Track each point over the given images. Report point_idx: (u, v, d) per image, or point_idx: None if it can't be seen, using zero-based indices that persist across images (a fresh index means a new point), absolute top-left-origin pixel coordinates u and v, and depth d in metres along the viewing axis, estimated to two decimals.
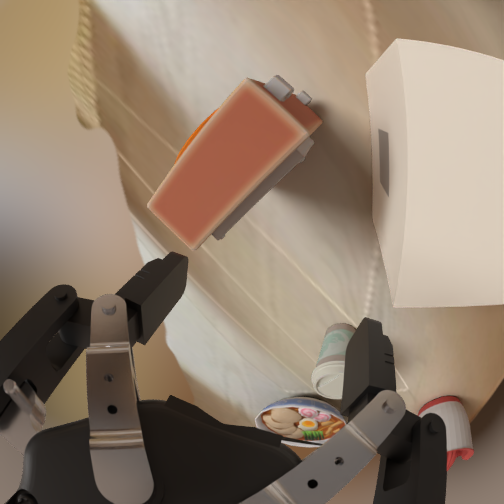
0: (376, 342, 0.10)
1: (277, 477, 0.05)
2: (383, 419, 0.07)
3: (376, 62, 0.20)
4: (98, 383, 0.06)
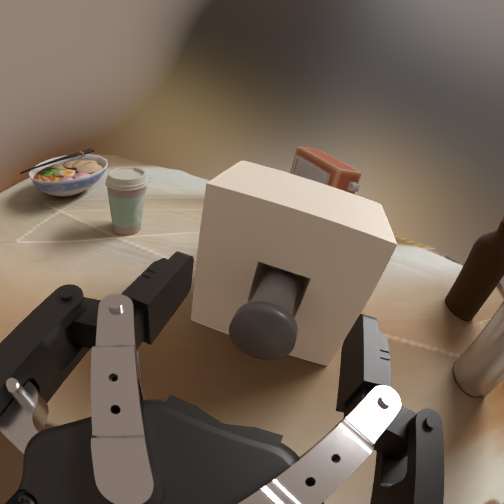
0: (372, 338, 0.10)
1: (274, 476, 0.05)
2: (378, 414, 0.07)
3: None
4: (102, 383, 0.06)
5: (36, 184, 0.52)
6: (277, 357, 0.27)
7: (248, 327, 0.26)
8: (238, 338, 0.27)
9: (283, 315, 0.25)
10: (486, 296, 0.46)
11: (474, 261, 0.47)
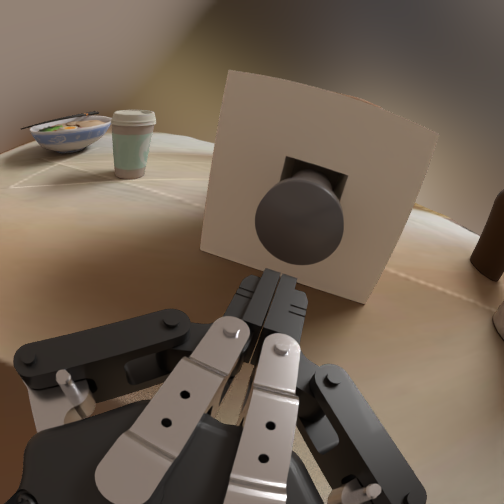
0: (285, 293, 0.11)
1: (228, 468, 0.05)
2: (269, 358, 0.08)
3: None
4: (171, 394, 0.06)
5: (36, 137, 0.46)
6: (318, 259, 0.21)
7: (282, 209, 0.20)
8: (267, 231, 0.21)
9: (327, 190, 0.19)
10: None
11: (498, 214, 0.41)
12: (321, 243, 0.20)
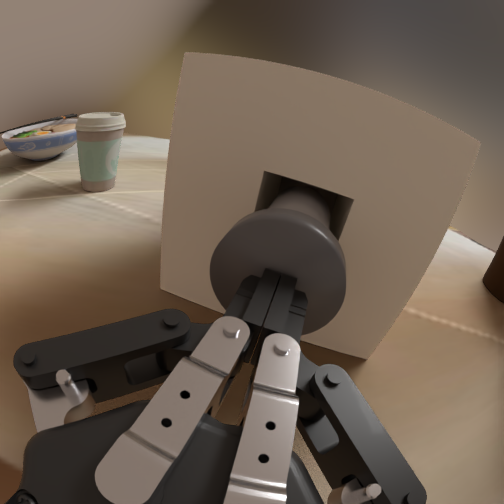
0: (285, 293, 0.11)
1: (228, 468, 0.05)
2: (268, 358, 0.08)
3: None
4: (171, 394, 0.06)
5: (7, 144, 0.39)
6: (305, 331, 0.14)
7: (249, 261, 0.13)
8: (229, 290, 0.14)
9: (322, 232, 0.12)
10: None
11: None
12: (310, 311, 0.13)
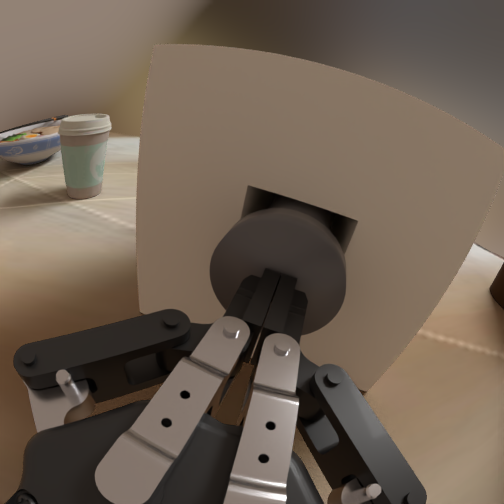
0: (285, 293, 0.11)
1: (228, 468, 0.05)
2: (269, 358, 0.08)
3: None
4: (171, 394, 0.06)
5: None
6: (305, 331, 0.14)
7: (249, 262, 0.13)
8: (229, 290, 0.14)
9: (322, 232, 0.12)
10: None
11: None
12: (310, 311, 0.13)
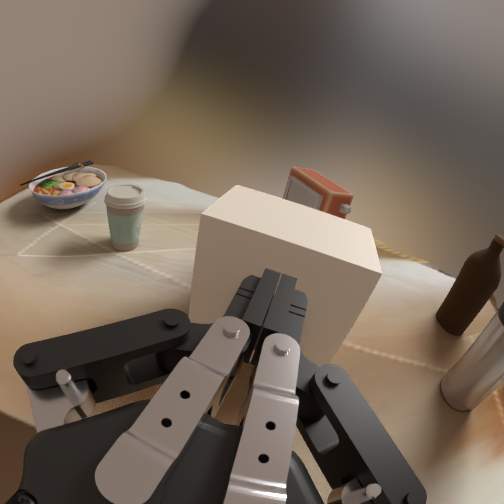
0: (285, 293, 0.11)
1: (228, 468, 0.05)
2: (269, 358, 0.08)
3: None
4: (171, 394, 0.06)
5: (36, 197, 0.53)
6: None
7: None
8: None
9: None
10: (476, 312, 0.48)
11: (465, 278, 0.49)
12: None
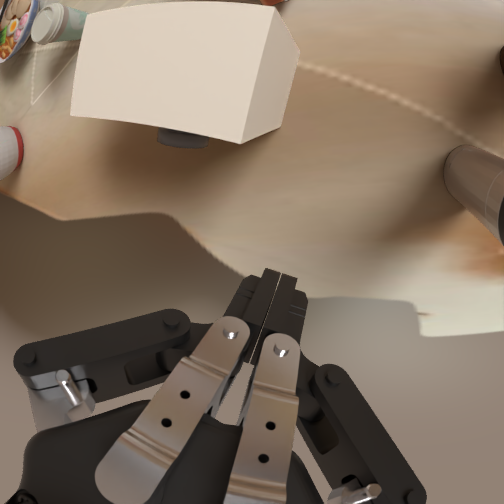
0: (285, 293, 0.11)
1: (228, 468, 0.05)
2: (269, 358, 0.08)
3: (290, 34, 0.23)
4: (171, 394, 0.06)
5: (4, 60, 0.34)
6: None
7: None
8: None
9: (180, 141, 0.30)
10: None
11: None
12: None
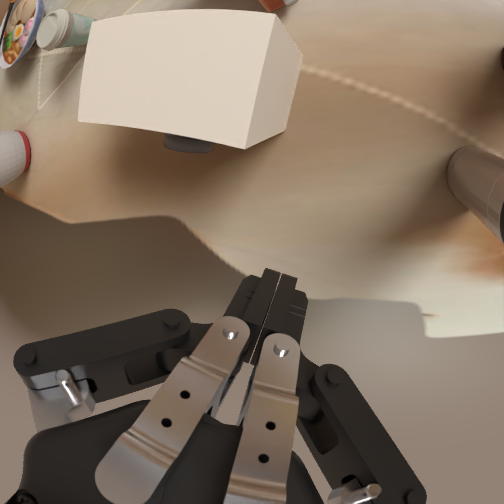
0: (285, 293, 0.11)
1: (228, 468, 0.05)
2: (269, 358, 0.08)
3: (292, 39, 0.24)
4: (171, 393, 0.06)
5: (10, 65, 0.37)
6: None
7: None
8: None
9: (186, 146, 0.31)
10: None
11: None
12: None
